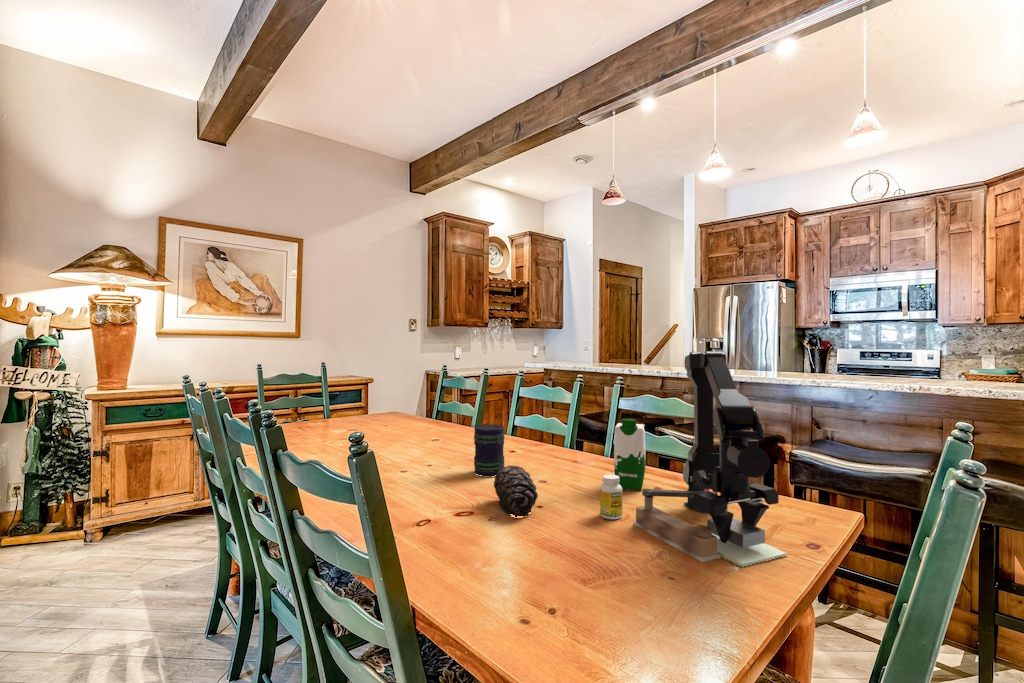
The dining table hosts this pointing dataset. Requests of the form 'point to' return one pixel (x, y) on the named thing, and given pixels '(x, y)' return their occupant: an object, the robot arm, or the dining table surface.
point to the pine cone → (515, 490)
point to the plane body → (677, 532)
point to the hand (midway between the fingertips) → (735, 540)
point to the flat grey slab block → (741, 533)
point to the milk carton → (629, 454)
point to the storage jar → (488, 449)
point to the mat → (747, 553)
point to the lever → (671, 493)
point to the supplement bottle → (611, 497)
